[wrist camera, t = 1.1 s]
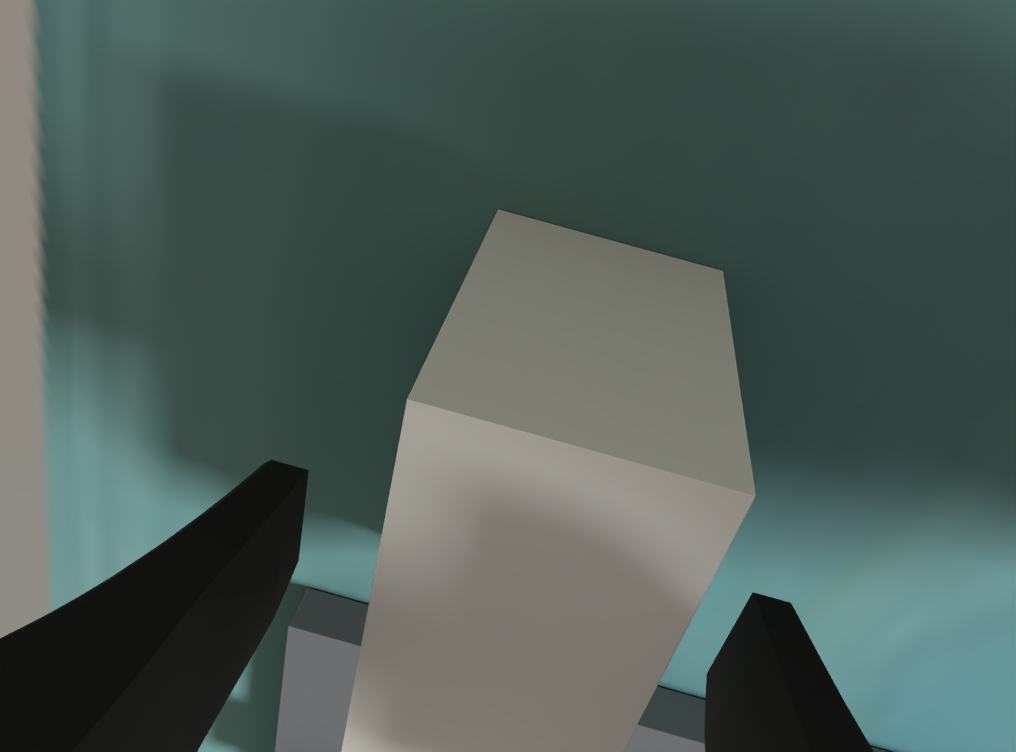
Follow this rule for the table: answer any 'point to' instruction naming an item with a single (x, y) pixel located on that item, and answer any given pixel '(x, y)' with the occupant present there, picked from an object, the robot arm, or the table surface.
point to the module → (552, 499)
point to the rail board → (332, 668)
